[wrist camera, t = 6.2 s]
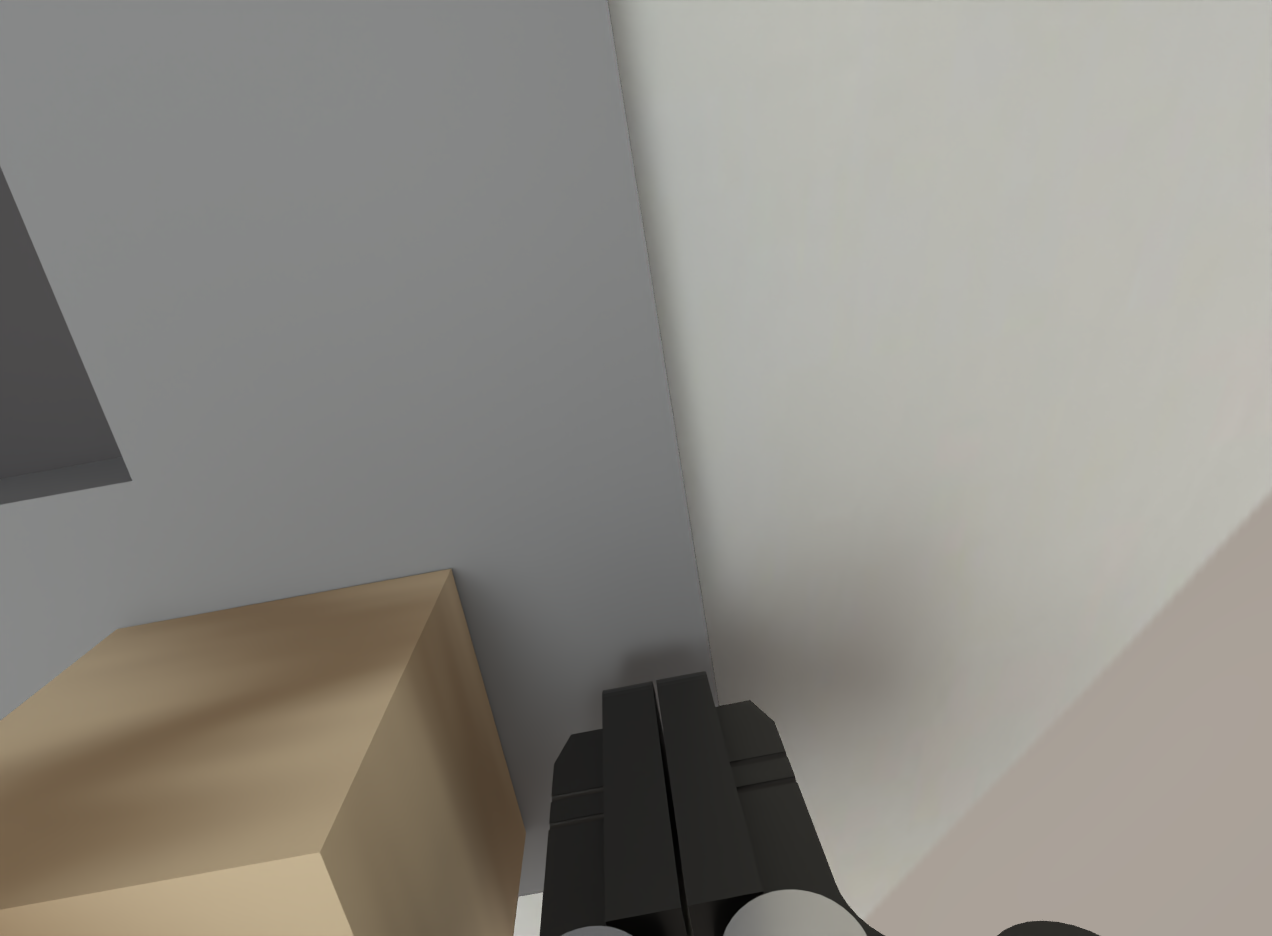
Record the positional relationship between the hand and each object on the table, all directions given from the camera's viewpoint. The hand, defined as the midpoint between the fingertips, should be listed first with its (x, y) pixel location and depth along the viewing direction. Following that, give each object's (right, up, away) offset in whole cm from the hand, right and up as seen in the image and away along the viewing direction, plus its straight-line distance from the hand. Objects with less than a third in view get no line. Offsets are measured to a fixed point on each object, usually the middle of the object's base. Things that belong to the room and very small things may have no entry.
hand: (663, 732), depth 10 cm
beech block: (-5, 0, +1) cm, 5 cm away
